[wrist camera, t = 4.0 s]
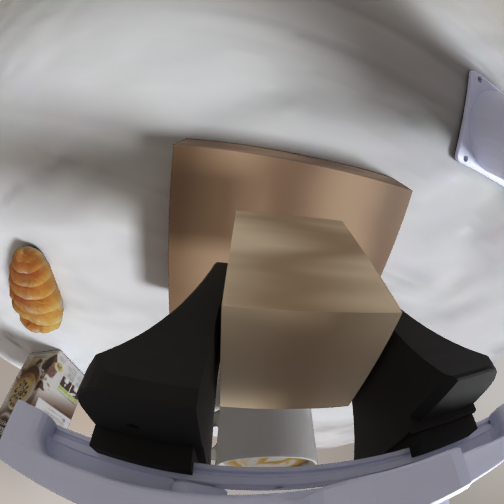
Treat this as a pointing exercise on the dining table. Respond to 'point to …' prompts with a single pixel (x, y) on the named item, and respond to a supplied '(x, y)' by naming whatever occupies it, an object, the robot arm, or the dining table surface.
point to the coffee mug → (264, 437)
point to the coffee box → (45, 387)
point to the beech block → (299, 314)
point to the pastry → (35, 291)
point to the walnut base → (268, 203)
